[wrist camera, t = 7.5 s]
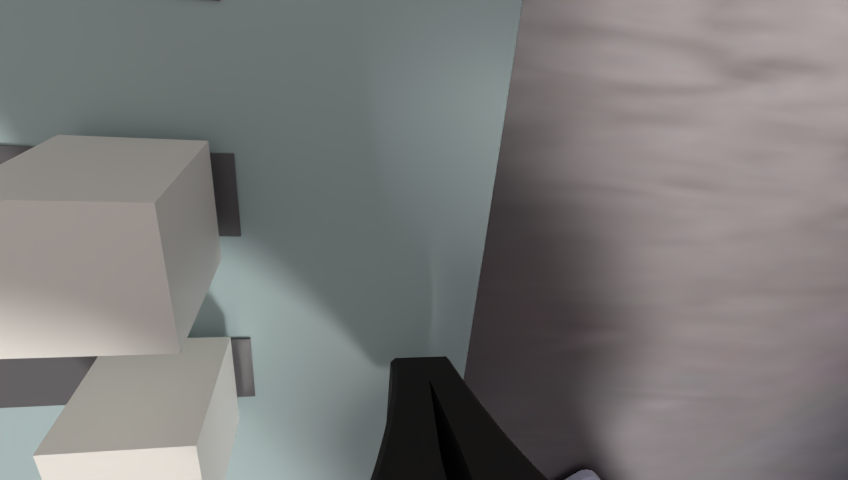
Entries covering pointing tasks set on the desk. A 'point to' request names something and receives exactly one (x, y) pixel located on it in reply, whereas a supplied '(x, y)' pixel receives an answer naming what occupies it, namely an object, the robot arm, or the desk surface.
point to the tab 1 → (105, 246)
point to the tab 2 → (148, 418)
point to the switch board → (286, 193)
